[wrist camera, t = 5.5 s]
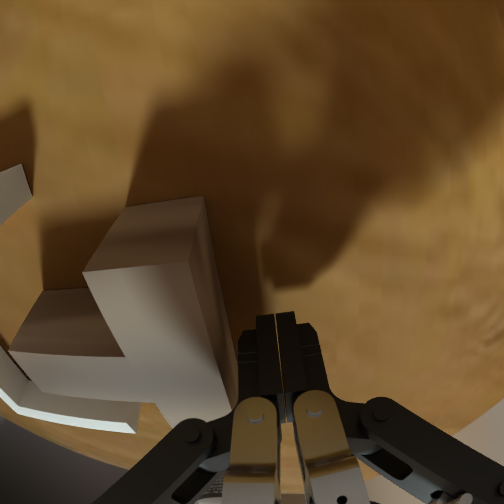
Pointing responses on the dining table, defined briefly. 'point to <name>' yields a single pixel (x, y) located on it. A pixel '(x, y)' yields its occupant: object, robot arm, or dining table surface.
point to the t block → (140, 320)
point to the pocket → (25, 391)
